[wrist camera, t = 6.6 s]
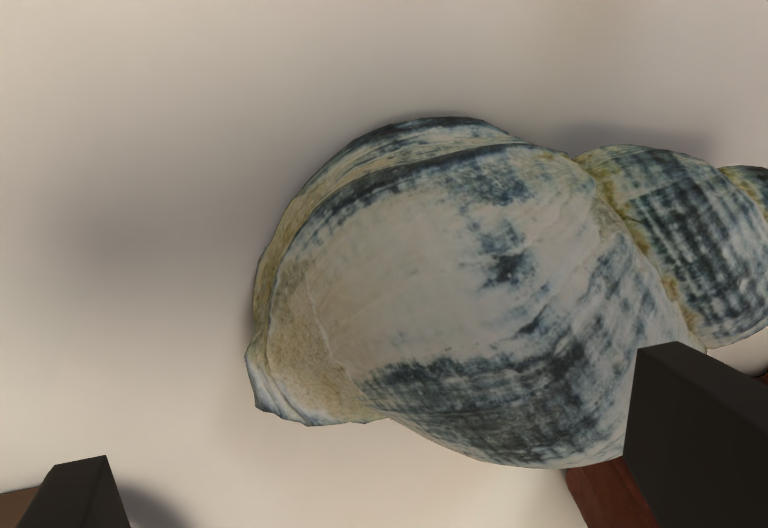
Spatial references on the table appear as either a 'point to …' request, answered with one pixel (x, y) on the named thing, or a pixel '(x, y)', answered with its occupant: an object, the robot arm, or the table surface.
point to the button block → (14, 506)
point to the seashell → (500, 286)
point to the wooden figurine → (612, 493)
